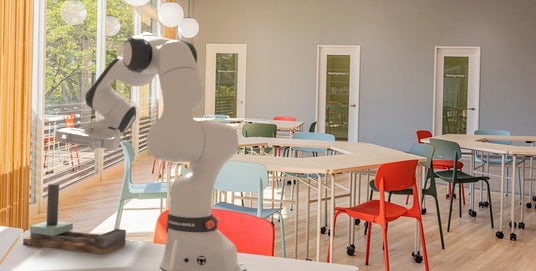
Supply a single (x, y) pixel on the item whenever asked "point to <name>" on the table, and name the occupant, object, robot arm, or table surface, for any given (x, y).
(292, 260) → the table surface
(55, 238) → the rail board
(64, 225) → the carriage
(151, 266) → the table surface
